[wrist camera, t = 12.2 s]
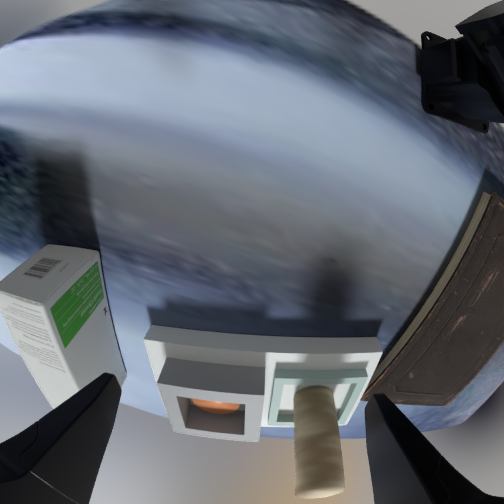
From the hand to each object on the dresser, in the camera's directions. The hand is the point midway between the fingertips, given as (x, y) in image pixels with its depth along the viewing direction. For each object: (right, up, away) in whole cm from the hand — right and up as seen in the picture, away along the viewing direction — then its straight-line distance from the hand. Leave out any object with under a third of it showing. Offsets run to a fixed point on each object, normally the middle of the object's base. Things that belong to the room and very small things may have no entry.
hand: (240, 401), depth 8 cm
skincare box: (-15, +4, +8) cm, 18 cm away
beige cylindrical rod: (+6, -9, +15) cm, 18 cm away
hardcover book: (+23, -2, +14) cm, 27 cm away
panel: (+1, -8, +17) cm, 19 cm away
